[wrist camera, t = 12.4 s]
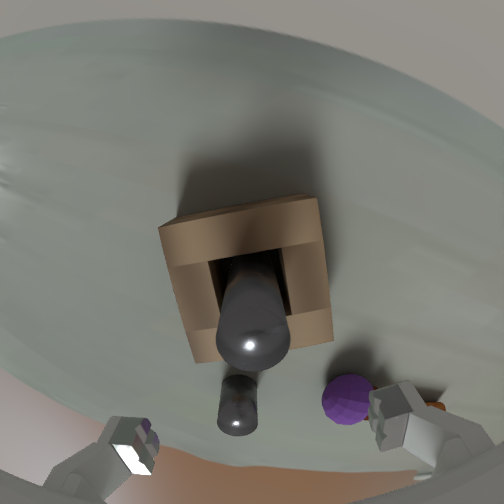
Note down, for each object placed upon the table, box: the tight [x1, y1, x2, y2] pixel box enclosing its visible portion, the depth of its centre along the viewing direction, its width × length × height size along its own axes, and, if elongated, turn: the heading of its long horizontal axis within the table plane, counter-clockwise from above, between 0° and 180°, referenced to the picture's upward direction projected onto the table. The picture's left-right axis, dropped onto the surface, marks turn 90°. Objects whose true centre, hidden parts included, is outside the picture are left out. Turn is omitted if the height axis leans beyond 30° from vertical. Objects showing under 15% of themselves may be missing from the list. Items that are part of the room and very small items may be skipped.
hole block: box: [158, 193, 334, 363], centre depth 27 cm, size 12×12×6 cm
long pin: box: [216, 251, 291, 371], centre depth 23 cm, size 4×4×14 cm
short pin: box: [217, 375, 258, 436], centre depth 30 cm, size 4×4×6 cm
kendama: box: [322, 374, 446, 425], centre depth 32 cm, size 6×6×20 cm
